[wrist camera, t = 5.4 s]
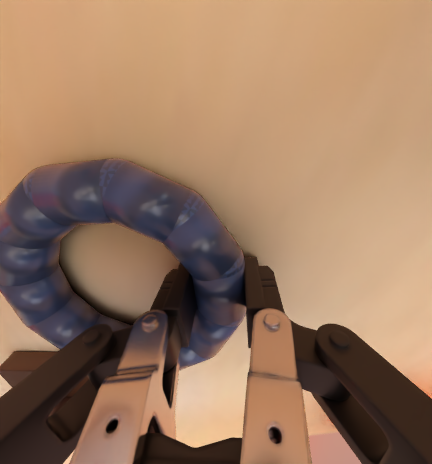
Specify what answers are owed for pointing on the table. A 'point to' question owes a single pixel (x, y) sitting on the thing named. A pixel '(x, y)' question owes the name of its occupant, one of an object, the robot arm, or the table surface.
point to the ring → (129, 216)
